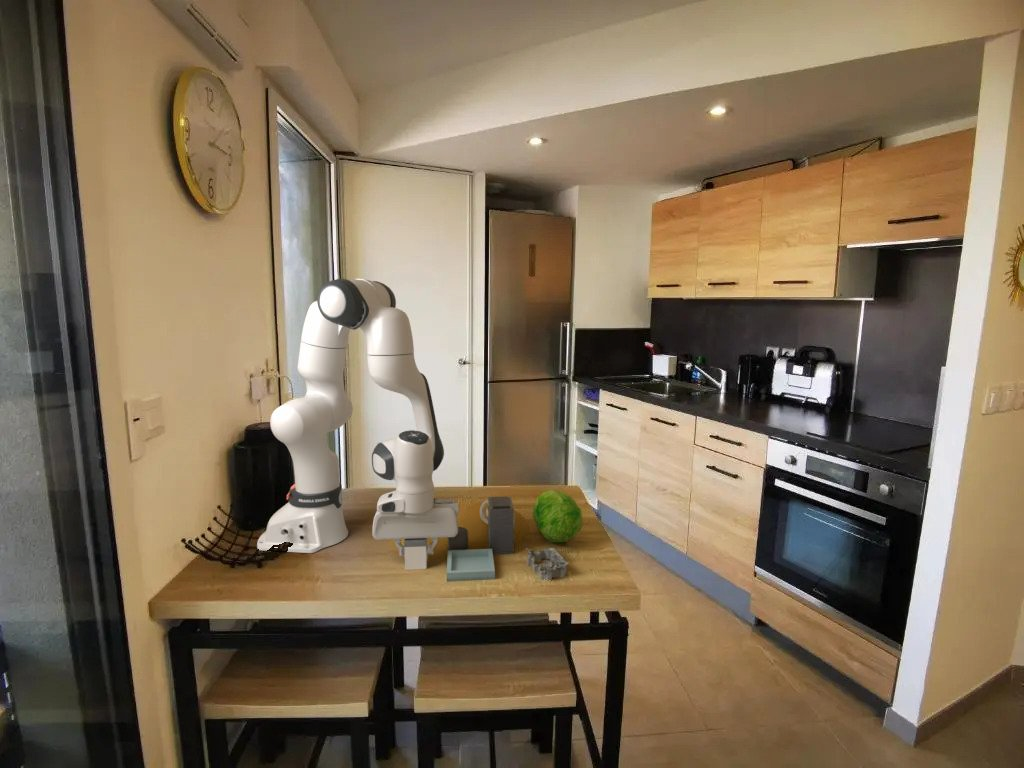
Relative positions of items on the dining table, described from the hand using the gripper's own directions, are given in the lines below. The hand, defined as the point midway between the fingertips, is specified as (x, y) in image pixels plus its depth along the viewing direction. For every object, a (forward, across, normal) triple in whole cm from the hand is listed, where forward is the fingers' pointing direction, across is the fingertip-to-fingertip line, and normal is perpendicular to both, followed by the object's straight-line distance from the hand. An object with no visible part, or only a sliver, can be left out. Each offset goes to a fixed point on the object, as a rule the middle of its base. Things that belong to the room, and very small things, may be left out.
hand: (416, 553), depth 126 cm
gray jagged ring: (+3, -31, +5) cm, 32 cm away
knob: (+3, -10, -7) cm, 12 cm away
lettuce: (+3, -37, -13) cm, 39 cm away
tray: (+3, -13, +3) cm, 14 cm away
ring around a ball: (+3, -20, -20) cm, 28 cm away
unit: (+3, -21, -7) cm, 22 cm away
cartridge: (+3, 0, 0) cm, 3 cm away
